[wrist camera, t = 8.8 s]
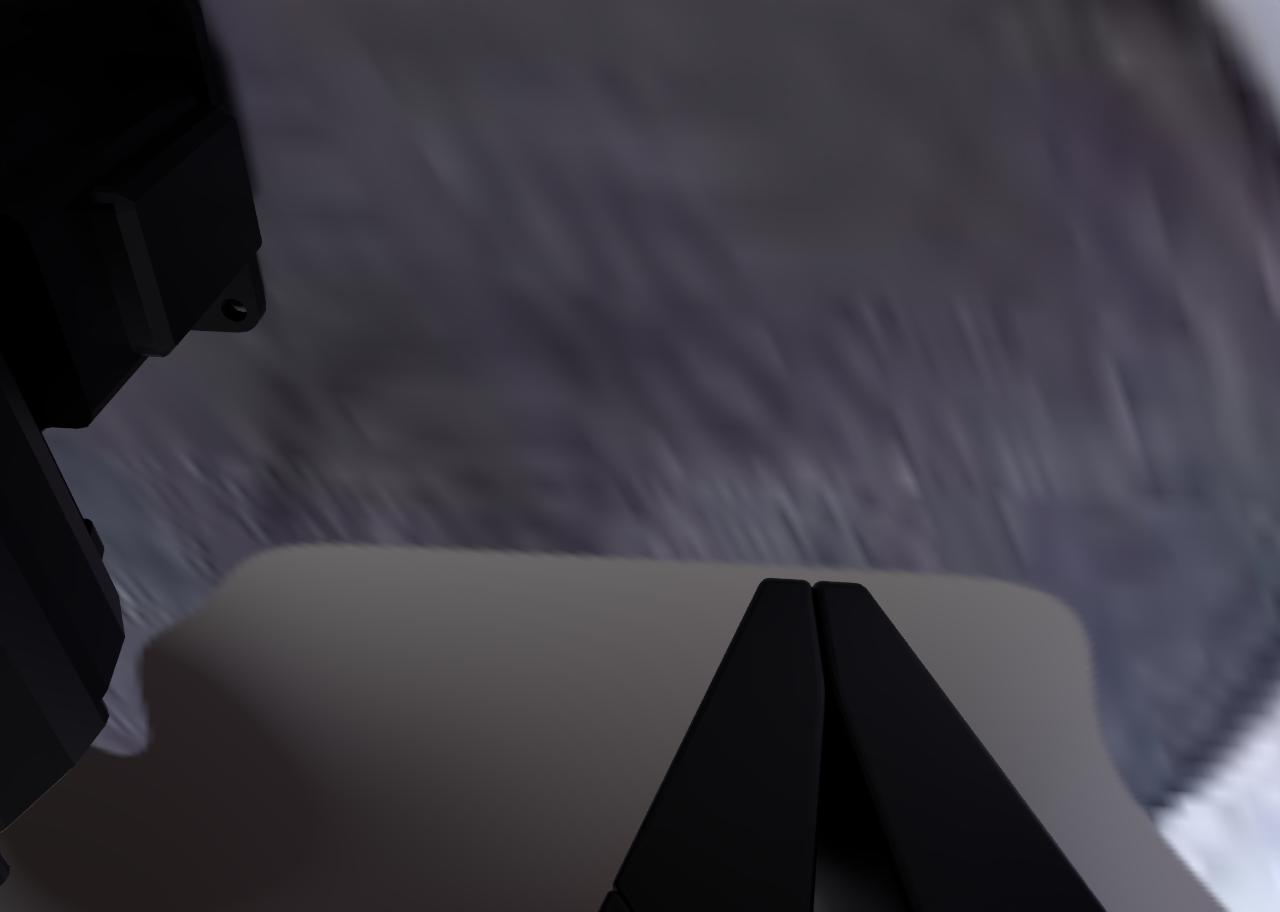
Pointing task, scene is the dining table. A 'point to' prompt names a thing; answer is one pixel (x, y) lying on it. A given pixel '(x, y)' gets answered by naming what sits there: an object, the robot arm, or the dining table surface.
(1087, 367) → the dining table surface
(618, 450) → the dining table surface
